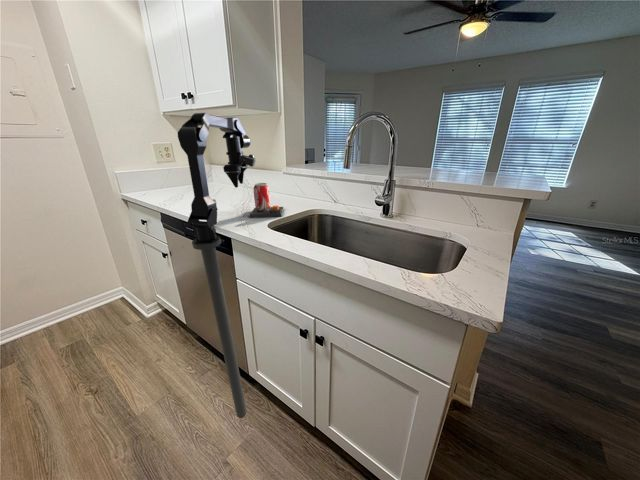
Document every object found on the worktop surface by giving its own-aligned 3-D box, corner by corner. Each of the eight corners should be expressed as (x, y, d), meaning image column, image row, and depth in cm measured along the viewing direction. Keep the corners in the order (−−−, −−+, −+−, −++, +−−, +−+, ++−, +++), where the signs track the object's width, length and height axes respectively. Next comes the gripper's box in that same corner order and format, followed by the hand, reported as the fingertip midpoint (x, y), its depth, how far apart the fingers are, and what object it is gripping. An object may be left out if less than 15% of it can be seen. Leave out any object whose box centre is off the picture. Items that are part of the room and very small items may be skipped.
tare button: (272, 210, 116) (272, 207, 116) (273, 208, 119) (273, 205, 118) (278, 210, 116) (278, 207, 116) (279, 208, 119) (279, 205, 118)
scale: (249, 217, 116) (249, 211, 114) (255, 210, 127) (254, 204, 126) (282, 216, 116) (281, 210, 115) (284, 209, 127) (284, 203, 126)
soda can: (269, 211, 119) (266, 185, 115) (254, 211, 119) (250, 185, 115) (272, 207, 126) (269, 182, 121) (257, 207, 126) (254, 182, 121)
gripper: (248, 150, 104) (253, 189, 110) (256, 147, 121) (260, 181, 127) (220, 150, 103) (226, 189, 109) (232, 148, 121) (237, 182, 127)
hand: (239, 185), depth 118 cm, fingers open, 9 cm apart
